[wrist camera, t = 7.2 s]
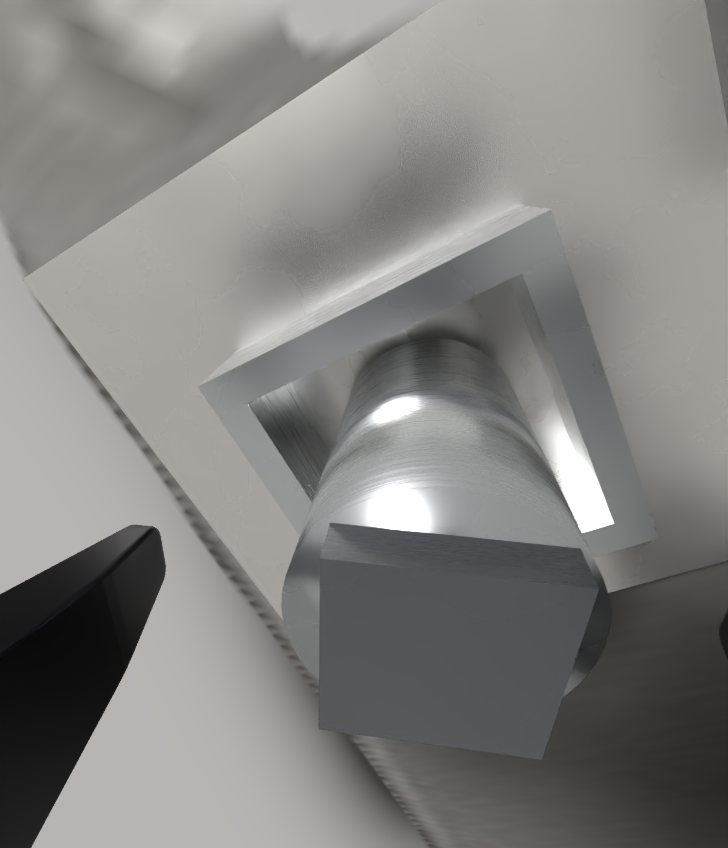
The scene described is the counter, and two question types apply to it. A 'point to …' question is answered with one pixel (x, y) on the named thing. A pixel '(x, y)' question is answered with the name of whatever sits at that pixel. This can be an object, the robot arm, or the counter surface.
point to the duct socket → (443, 273)
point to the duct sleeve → (442, 564)
